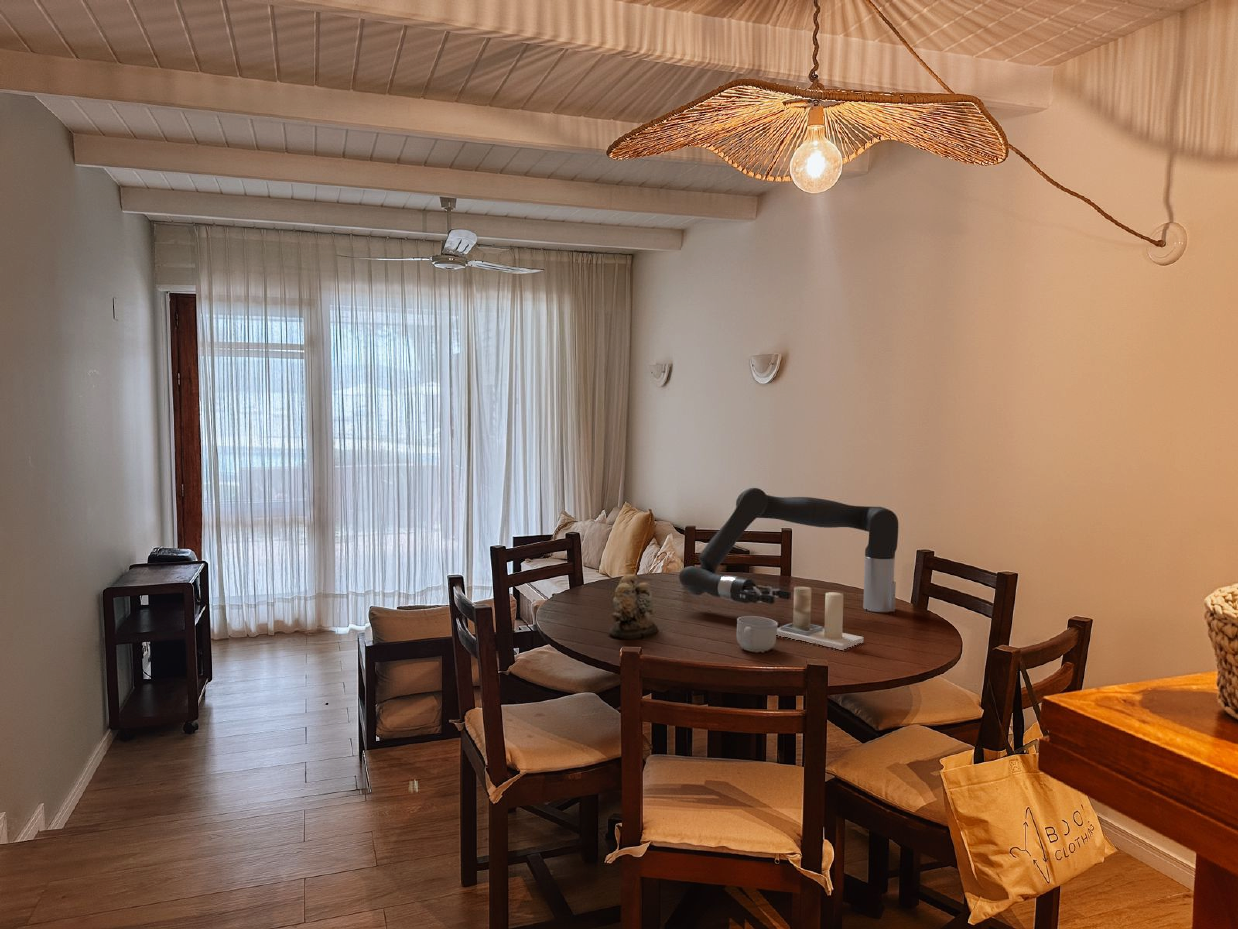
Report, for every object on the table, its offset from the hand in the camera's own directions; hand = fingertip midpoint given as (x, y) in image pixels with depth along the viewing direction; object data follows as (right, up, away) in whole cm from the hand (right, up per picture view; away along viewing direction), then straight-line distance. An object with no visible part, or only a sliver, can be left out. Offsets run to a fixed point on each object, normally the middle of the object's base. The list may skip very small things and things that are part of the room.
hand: (782, 598), depth 240 cm
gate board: (+8, -10, -7) cm, 15 cm away
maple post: (+5, -8, -4) cm, 10 cm away
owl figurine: (-44, -10, -4) cm, 45 cm away
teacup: (-12, -11, -20) cm, 26 cm away
